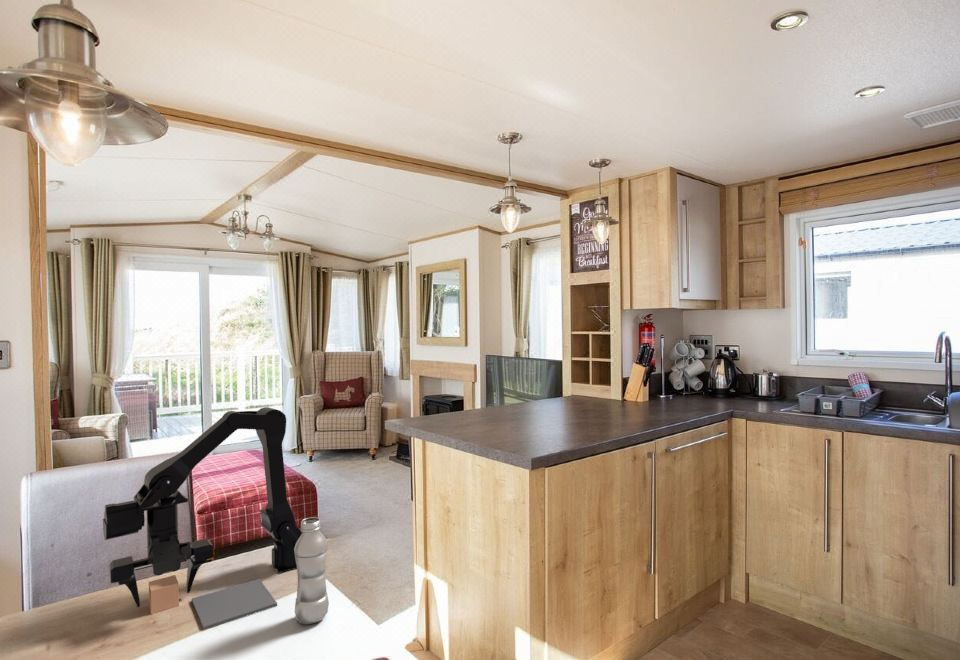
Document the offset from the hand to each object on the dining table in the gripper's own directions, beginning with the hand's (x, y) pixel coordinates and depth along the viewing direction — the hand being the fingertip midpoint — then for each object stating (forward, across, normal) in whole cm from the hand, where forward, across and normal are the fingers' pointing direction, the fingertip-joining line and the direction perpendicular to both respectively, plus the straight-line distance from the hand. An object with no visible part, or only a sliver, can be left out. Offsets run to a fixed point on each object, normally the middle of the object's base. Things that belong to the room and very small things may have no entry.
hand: (164, 599), depth 111 cm
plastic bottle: (+2, +23, -26) cm, 35 cm away
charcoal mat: (+1, +12, -9) cm, 15 cm away
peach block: (+2, 0, 0) cm, 2 cm away
